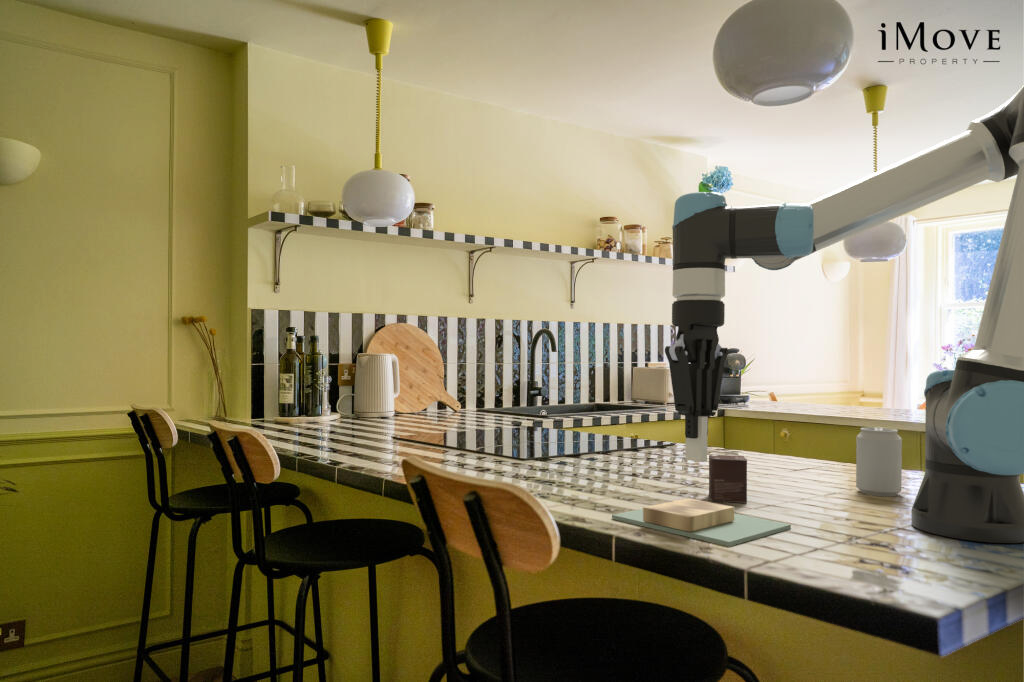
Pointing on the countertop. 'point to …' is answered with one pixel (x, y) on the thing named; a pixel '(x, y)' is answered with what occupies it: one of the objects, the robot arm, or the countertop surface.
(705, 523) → the tile
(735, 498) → the box
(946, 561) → the countertop surface
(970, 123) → the robot arm
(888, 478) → the can
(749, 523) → the mat
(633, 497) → the countertop surface
